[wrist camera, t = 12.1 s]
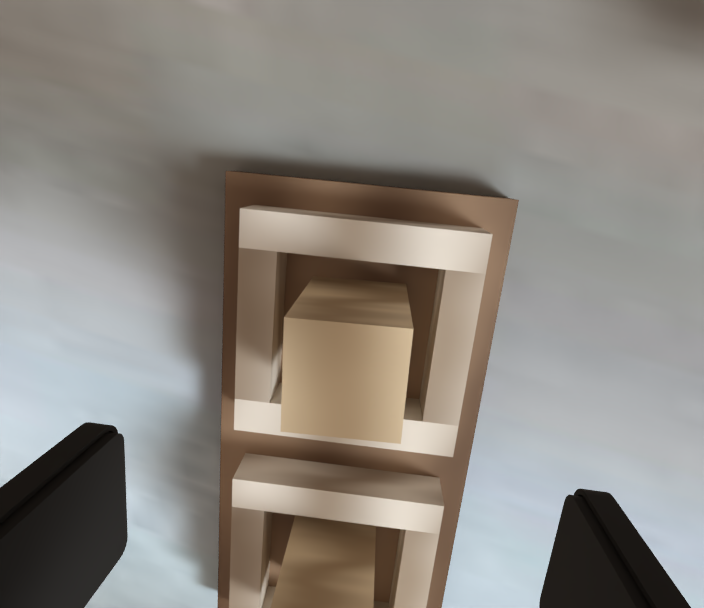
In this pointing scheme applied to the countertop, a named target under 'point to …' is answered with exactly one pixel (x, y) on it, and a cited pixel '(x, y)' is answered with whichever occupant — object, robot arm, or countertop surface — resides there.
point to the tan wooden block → (347, 360)
